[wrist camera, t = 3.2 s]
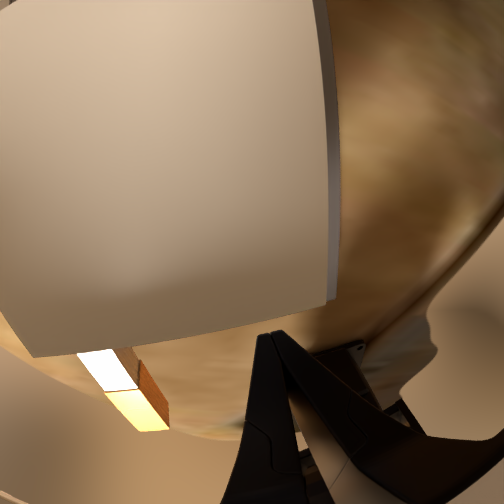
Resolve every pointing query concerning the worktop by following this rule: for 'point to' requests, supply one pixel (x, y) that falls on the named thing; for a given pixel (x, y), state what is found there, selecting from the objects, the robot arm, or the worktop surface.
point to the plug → (159, 169)
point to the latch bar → (126, 378)
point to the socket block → (330, 142)
